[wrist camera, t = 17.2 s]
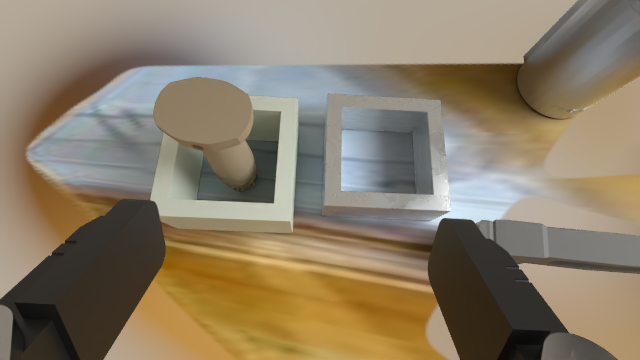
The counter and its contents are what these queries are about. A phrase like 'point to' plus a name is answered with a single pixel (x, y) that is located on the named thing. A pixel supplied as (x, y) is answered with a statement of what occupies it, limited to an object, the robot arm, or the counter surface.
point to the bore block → (387, 117)
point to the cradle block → (189, 213)
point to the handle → (211, 125)
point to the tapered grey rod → (565, 246)
